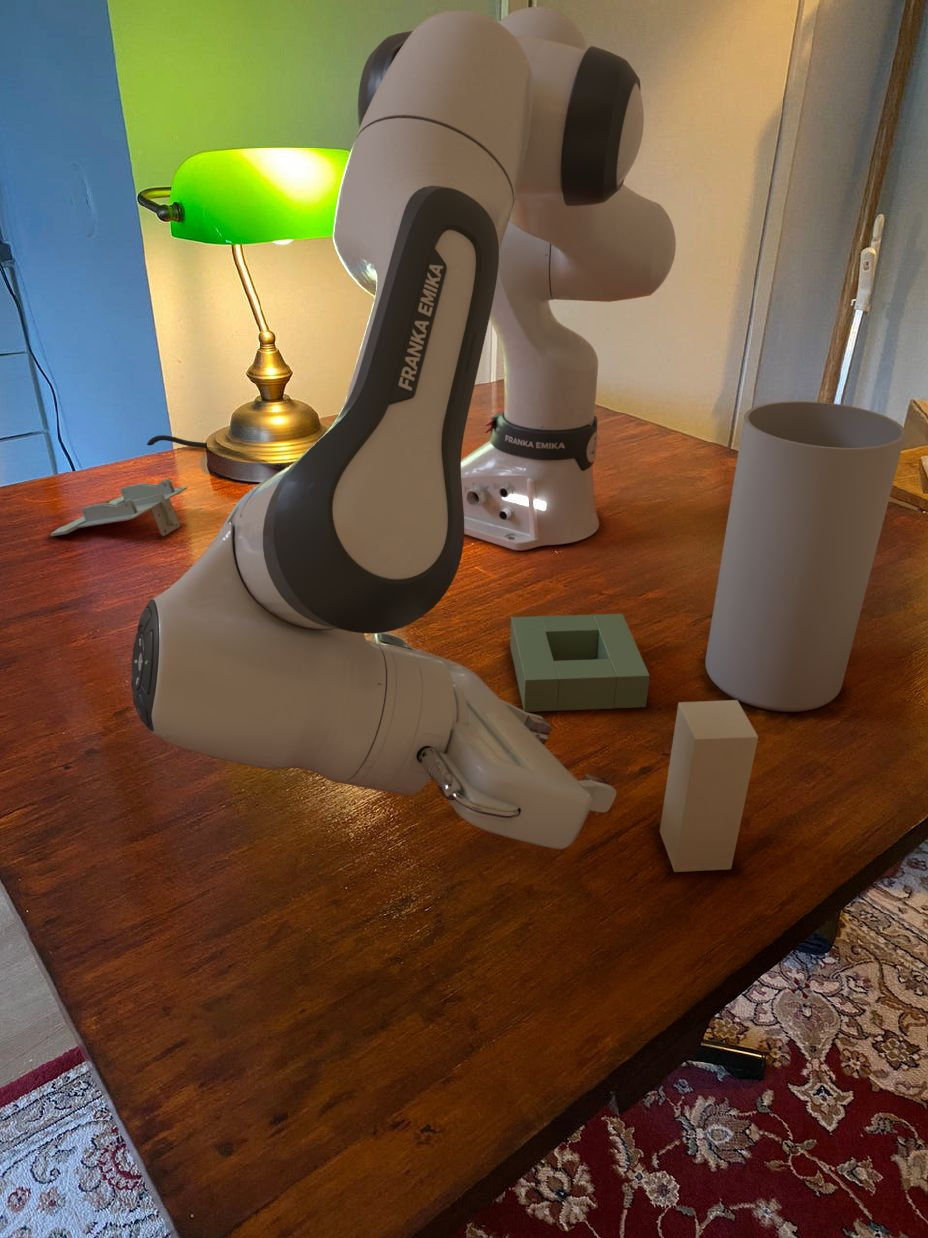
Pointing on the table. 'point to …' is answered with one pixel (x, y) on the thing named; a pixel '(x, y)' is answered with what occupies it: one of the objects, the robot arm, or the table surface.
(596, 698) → the block
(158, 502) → the metal bracket
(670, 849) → the beige rectangular block
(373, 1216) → the table surface
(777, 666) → the cylinder vase
